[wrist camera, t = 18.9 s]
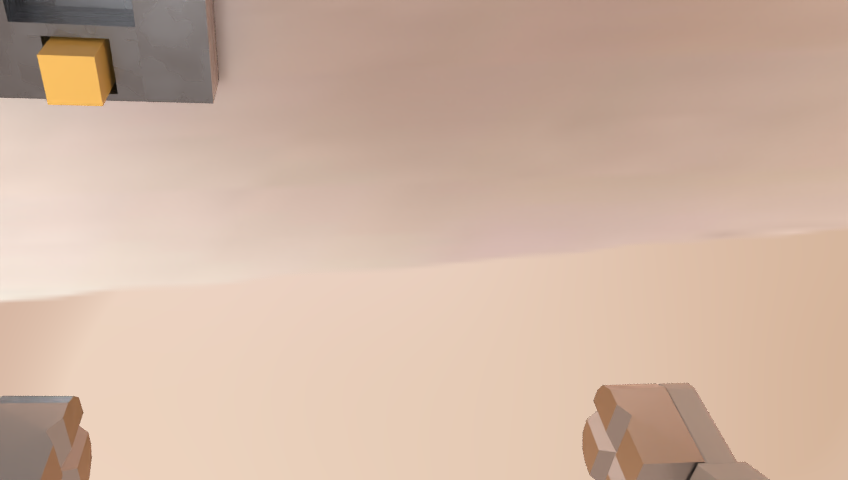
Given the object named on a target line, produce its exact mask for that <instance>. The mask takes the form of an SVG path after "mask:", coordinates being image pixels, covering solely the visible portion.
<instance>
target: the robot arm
mask: <svg viewBox="0 0 848 480" xmlns="http://www.w3.org/2000/svg"><path fill="white" fill-rule="evenodd" d="M594 403H595V406H596V408H597V411H596V412H595V413H594V414H592V415H591V416H590V417H589V418H587V420H586V424H585V427H584V430H583V454H584V459H585V463H586V466H587V469H588V472H589V474H590V476H592V477H593V478H594V479H595V480H770V479H768V478H766V477H765V476H764V475H763V474H761V473H760V472H759V471H757V470H756V469H754V468H753V467H752V466H750V465H749V464H748V463H746V462H737V461H736V459H735V457H734V456H733V454H732V452H731V450H730V449H729V447H728V445H727V444H726V442H725V440H724V438H723V437H722V435H721V433H720V431H719V430H718V428H717V426H716V425H715V423H714V421H713V419H712V418H711V416H710V414H709V412H708V411H707V409H706V407H705V405H704V404H703V402H702V400H701V399H700V397H699V395H698V393H697V392H696V390H695V388H694V387H693V386H691V385H690V384H689V383H671V384H670V383H667V384H656V383H654V384H627V385H626V384H625V385H624V384H623V385H603V386H601V387H600V388H599V389H598V390H597V393H596V395H595V398H594ZM82 415H83V410H82V407H81V403H80V400H79V398H78V397H75V396H0V480H89V476H90V468H91V459H92V456H91V442H90V438H89V433H88V432H87V431H86V430H84V429H83V428H81V427H80V426H79V424H80V421H81V418H82Z"/></svg>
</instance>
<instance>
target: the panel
mask: <svg viewBox="0 0 848 480" xmlns="http://www.w3.org/2000/svg"><path fill="white" fill-rule="evenodd" d="M51 36H57V37H81V38H105V39H109V41H110V47H111V53H112V60H113V66H114V72H115V78H116V81H115V83H114V85H113V87H112V89H111V91H110V93H109V95H108V97H107V99H106V100H109V101H145V102H181V103H214V98H215V94H216V89H217V85H218V80H219V77H218V63H217V50H216V36H215V22H214V9H213V0H0V98H37V99H47V98H46V93H45V89H44V85H43V80H42V76H41V71H40V67H39V62H38V58H37V54H38V53H39V51H40V50H41V49H42V48H43V46H44V45H45V44H46V42H47V41H48V40H49V39H50V37H51Z"/></svg>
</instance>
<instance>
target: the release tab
mask: <svg viewBox="0 0 848 480" xmlns="http://www.w3.org/2000/svg"><path fill="white" fill-rule="evenodd" d="M37 58H38V62H39V67H40V71H41V76H42V80H43V85H44V89H45V93H46V98H47V102H48V105H84V106H103V105H104V103H105V101H106V99H107V97H108V95H109V93H110V91H111V89H112V87H113V85H114V83H115V81H116V78H115V72H114V66H113V60H112V53H111V47H110V41H109V39H105V38H81V37H57V36H51V37H50V39H49V40H48V41H47V42H46V44H45V45H44V46H43V48H42V49H41V50H40V51H39V53H38V54H37Z"/></svg>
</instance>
